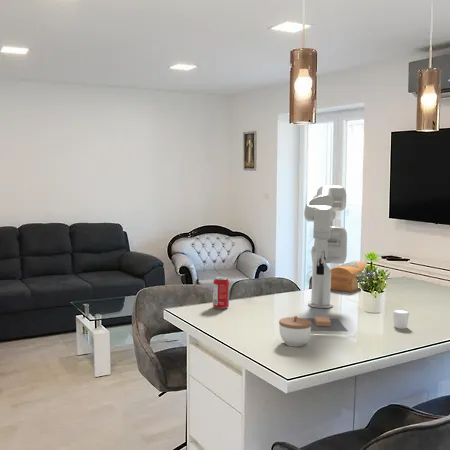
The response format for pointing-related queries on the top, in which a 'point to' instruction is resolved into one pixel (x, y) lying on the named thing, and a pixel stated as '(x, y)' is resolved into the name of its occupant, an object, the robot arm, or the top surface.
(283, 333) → the lidded bowl
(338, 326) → the charcoal mat
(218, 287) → the soda can
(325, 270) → the robot arm
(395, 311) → the white cup
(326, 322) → the picture frame
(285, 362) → the top surface
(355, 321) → the top surface
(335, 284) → the wooden box
